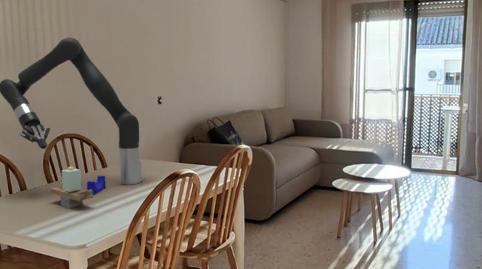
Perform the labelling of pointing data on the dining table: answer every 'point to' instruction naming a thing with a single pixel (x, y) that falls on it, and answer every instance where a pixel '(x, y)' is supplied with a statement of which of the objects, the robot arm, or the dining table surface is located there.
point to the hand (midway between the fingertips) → (44, 147)
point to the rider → (71, 179)
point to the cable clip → (96, 185)
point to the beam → (71, 196)
